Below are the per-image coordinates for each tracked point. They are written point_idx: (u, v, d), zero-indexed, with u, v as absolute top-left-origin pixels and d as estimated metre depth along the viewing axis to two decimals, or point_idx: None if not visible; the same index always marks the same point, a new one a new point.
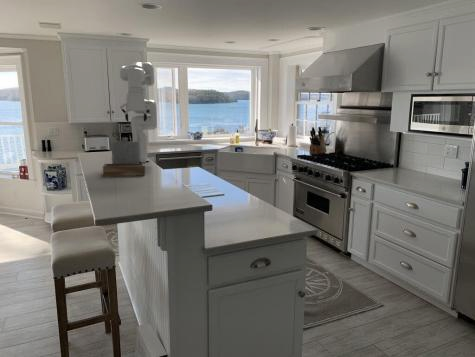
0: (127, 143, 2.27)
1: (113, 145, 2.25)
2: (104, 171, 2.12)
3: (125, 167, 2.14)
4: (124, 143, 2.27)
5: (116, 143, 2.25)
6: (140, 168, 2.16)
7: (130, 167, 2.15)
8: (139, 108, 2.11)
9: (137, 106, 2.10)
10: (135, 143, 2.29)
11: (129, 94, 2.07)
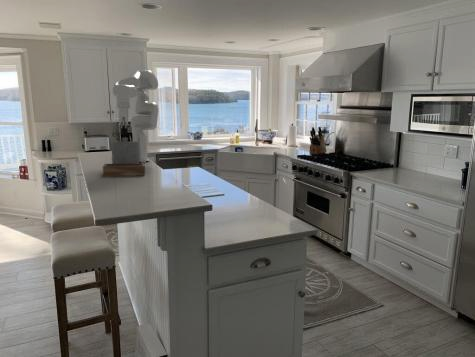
0: (127, 143, 2.27)
1: (113, 145, 2.25)
2: (104, 171, 2.12)
3: (125, 167, 2.14)
4: (124, 143, 2.27)
5: (116, 143, 2.25)
6: (140, 168, 2.16)
7: (130, 167, 2.15)
8: None
9: None
10: (135, 143, 2.29)
11: (127, 109, 2.21)
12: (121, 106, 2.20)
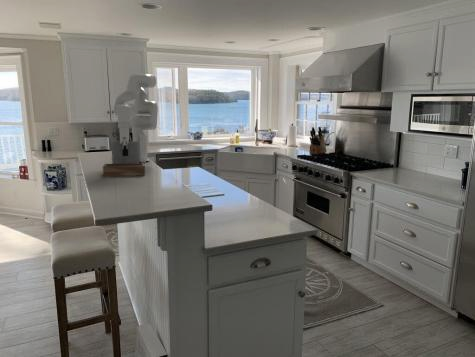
0: None
1: (113, 145, 2.25)
2: (104, 171, 2.12)
3: (125, 167, 2.14)
4: None
5: (116, 143, 2.25)
6: (140, 168, 2.16)
7: (130, 167, 2.15)
8: None
9: None
10: (135, 143, 2.29)
11: (127, 129, 2.24)
12: (122, 126, 2.22)
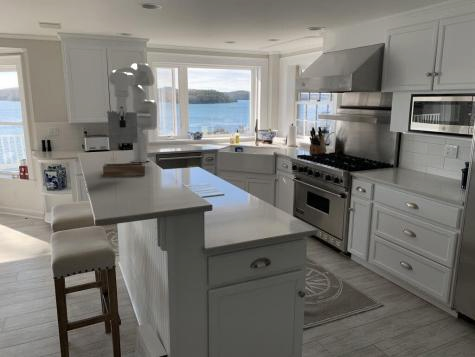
0: None
1: (109, 115, 2.10)
2: (104, 171, 2.12)
3: (125, 167, 2.14)
4: None
5: (113, 113, 2.10)
6: (140, 168, 2.16)
7: (130, 167, 2.15)
8: None
9: None
10: (133, 114, 2.13)
11: (125, 98, 2.08)
12: (119, 95, 2.07)
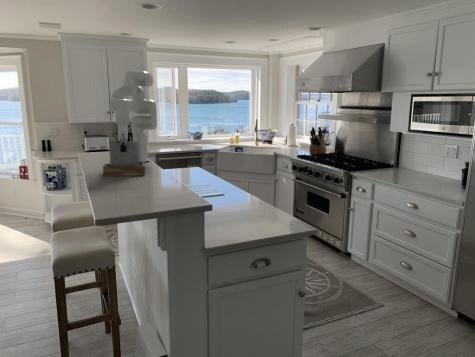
0: None
1: (111, 145, 2.13)
2: (104, 171, 2.12)
3: (125, 167, 2.14)
4: None
5: (114, 143, 2.13)
6: (140, 168, 2.16)
7: (130, 167, 2.15)
8: (127, 137, 2.17)
9: (127, 135, 2.16)
10: (134, 143, 2.16)
11: (126, 125, 2.11)
12: (120, 122, 2.09)
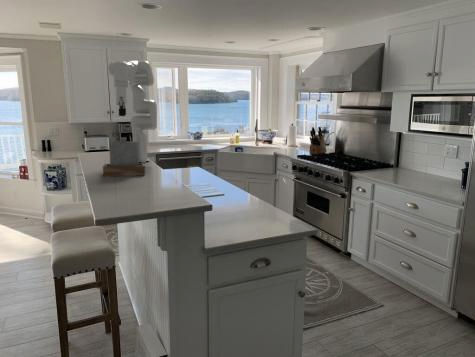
0: (125, 143, 2.14)
1: (111, 145, 2.13)
2: (104, 171, 2.12)
3: (125, 167, 2.14)
4: (122, 143, 2.14)
5: (114, 143, 2.13)
6: (140, 168, 2.16)
7: (130, 167, 2.15)
8: None
9: None
10: (134, 143, 2.16)
11: (125, 88, 2.06)
12: (119, 85, 2.05)
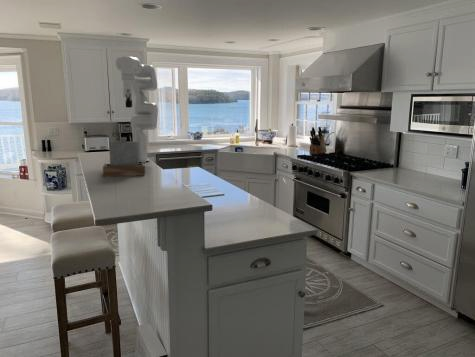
0: (125, 143, 2.14)
1: (111, 145, 2.13)
2: (104, 171, 2.12)
3: (125, 167, 2.14)
4: (122, 143, 2.14)
5: (114, 143, 2.13)
6: (140, 168, 2.16)
7: (130, 167, 2.15)
8: (132, 94, 2.27)
9: (132, 92, 2.26)
10: (134, 143, 2.16)
11: (131, 81, 2.20)
12: (126, 78, 2.19)
